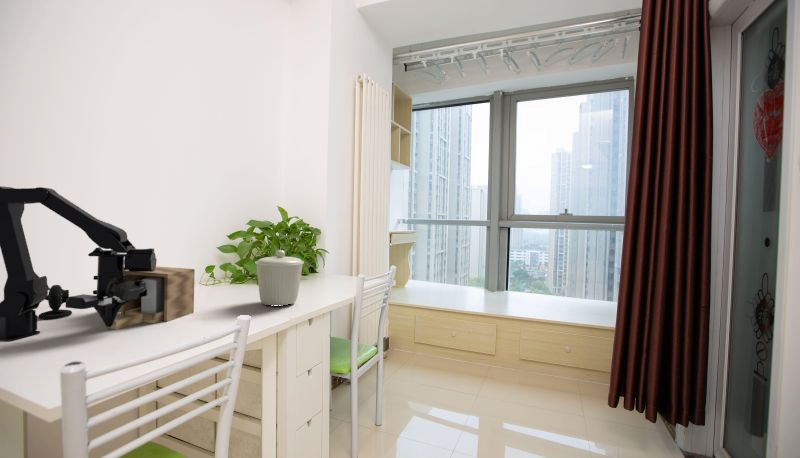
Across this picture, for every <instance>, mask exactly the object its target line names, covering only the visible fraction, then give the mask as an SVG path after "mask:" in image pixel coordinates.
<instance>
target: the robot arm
mask: <svg viewBox="0 0 800 458" xmlns="http://www.w3.org/2000/svg"><path fill="white" fill-rule="evenodd" d="M39 203H40V204H41V205H43V206H44V207H45V208H47V209H49V210H50V211H52V212H54V213H55V214H57V215H58V216H60V217H62V218H63V219H65V220H66V221H68V222H69V223H72V224H73V225H74V226H76V227H77V228H79V229H81V230H82V231H83V232H84V233H85V234H86V236H87V237H88V239H90V240H91V241H92V242H93V243H94V244H96V245H97V246H98V247H95V248H94V250H93V251H91V252H90V253H88V254H87V255H88V257H97V275H93V280H96V281H97V282H96V289H95V290H92V294H83V293H82V294H78V295H71V296H69V298H68V299H67V300H66V303H65V308H67V309H74V310H75V309H76V310H87V309H91V308H94V309H95V311H96V312H97V313H98V315H99V317H100V318H101V319H102V322H103V323H104V325H105V327H107V328H108V327H111V326H112V324H113V322H114V319H115V318H117V315H118V313H119V312H120V311H119V309H120V308H121V306H123V305H124V304H125V303H128V302H129V300H130V299H137V298H138V297H143V296H147V289H146V283H145V281H143V280H139V281H136V282H129V281H128V277H127V275H124V267H125V268H126V269H128V270H129V271H130V272H154V270H155V268H156V266H157V255H156V253H155V248H153V247H151V248H136V247H135V246H134V245H133V243H132V242H131V241H130V240H129V239H128V233H127V232H126V231H125V230H124V229H123V228H120V227H118V226H116V225H113V224H112V223H109V222H105V221H104V220H100V219H98V218H96V217H95V216H93V215H92V214H90V213H89V212H87V211H86V210H84V209H82V208H81V207H79V205H77V204H75V203H73V201H72V202H71V200H68V199H67V198H66V197H64V196H62V195H61V194H59V193H58V192H57V191H56V190H55V189H52V188H49V187H40V186H39V187H33V188H32V187H31V188H25V187H24V188H14V187H11V186H10V187H9V186H1V185H0V250H1V256H2V259H3V263H4V267H5V271H6V275H7V276H6V277H7V278H6V280H5V284H4V287H3V300H1V301H0V341H14V340H18V339H19V340H20V339H23V338H26V337H30V336H33V335H37V334H40V333H41V331H40V330H38V314H36V309H38V308H39V306H40V304H41V303H42V302H44V301H45V300H44V299H45V298H46V297H47V295H48V294H49V290H50V288H51V287H49V285H48V277H47V276H46V275H43V276H41V277H40V276H39V275H38V274H37V273H36V272H35V270H34V266H33V263H32V259H31V256H30V255H31V254H30V251H29V248H28V243H27V239H26V236H25V230H24V228H23V223H22V217H23V214H24V212H25V205H26V204H27V205H31V204H39ZM104 249H105V250H104ZM108 249H109V250H108Z"/></svg>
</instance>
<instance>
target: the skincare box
mask: <svg viewBox="0 0 800 458" xmlns="http://www.w3.org/2000/svg"><path fill="white" fill-rule="evenodd" d="M143 281H145V283H146V289H147V296H143V297H141V312H143V313H151V314H155V313H158V312H162V311H164V277H148V278H146V279H143Z"/></svg>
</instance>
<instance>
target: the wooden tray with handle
mask: <svg viewBox="0 0 800 458" xmlns="http://www.w3.org/2000/svg"><path fill="white" fill-rule="evenodd" d="M161 321H164V311H162V312H158V313H155V314H151V313H143V312H141V307H139V308H135V309H131V310H127V311H124V316H121V315H120V316H118V317H115V319H114V322H113V324H112V326H111V327H107V329H108V330H115V331H116V330H119V329H123V328H127V327H130V326H133V325H137V324H139V323H149V324H150V323H151V324H155V323H158V322H161Z"/></svg>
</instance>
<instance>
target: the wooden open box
mask: <svg viewBox="0 0 800 458" xmlns="http://www.w3.org/2000/svg"><path fill="white" fill-rule="evenodd" d="M195 271H196V270H195V269H194V268H181V267H170V266H169V267H168V266H157V265H156V268H155V270H154V272H130V271H129V270H124V275H127V277H128V281H129V282H136V281H139V280H143V279H146V278H148V277H164V320H163V321H164V322H165V323H167V322H171V321H173V320H176V319H178V318H179V319H180V318H182V317H186V316H188V315H191V314H194V313H195V308H194V307H195V275H196V273H195ZM139 307H141V297H138V298H137V299H130V300H129V302H128V303H125V304H124V305H123V306H121V311H120V317H121V316H124V311H127V310H131V309H135V308H139ZM193 312H194V313H193ZM190 313H191V314H190Z"/></svg>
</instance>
